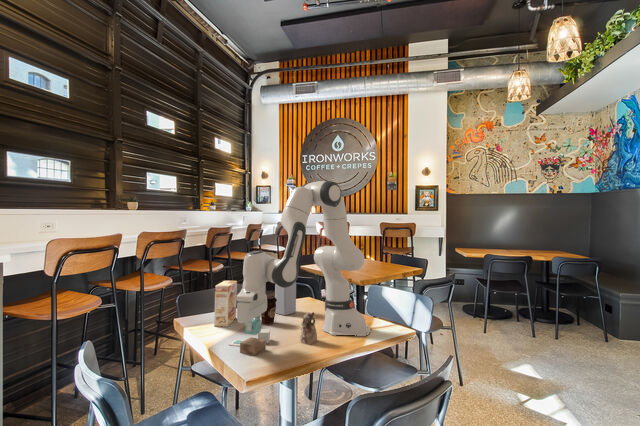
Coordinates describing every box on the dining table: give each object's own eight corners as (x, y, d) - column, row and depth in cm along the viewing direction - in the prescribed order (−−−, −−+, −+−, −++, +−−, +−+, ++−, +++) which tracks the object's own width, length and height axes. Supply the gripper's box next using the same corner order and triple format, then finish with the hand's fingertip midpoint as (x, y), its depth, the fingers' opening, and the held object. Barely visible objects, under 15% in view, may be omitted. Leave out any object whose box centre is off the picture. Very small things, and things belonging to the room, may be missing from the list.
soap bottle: (273, 313, 184) (274, 267, 185) (284, 310, 191) (285, 265, 192) (285, 316, 178) (286, 269, 179) (296, 312, 186) (297, 267, 186)
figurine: (297, 339, 143) (298, 311, 143) (312, 337, 146) (313, 309, 146) (303, 345, 137) (304, 315, 137) (319, 343, 139) (319, 314, 140)
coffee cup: (278, 321, 169) (279, 295, 170) (274, 326, 161) (275, 299, 162) (261, 320, 170) (262, 294, 171) (257, 325, 162) (257, 298, 162)
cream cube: (270, 339, 143) (270, 329, 143) (268, 343, 138) (268, 332, 138) (259, 339, 143) (259, 329, 143) (257, 343, 138) (258, 332, 138)
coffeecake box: (228, 326, 159) (229, 285, 160) (213, 326, 159) (214, 285, 160) (236, 317, 174) (237, 280, 175) (223, 317, 174) (224, 280, 175)
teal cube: (260, 331, 132) (261, 319, 132) (255, 334, 127) (256, 322, 127) (250, 330, 133) (250, 318, 133) (245, 333, 128) (245, 322, 128)
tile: (248, 341, 140) (248, 340, 140) (242, 346, 134) (242, 345, 134) (235, 340, 141) (235, 338, 141) (228, 345, 136) (228, 343, 136)
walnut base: (265, 350, 132) (265, 340, 132) (254, 356, 125) (255, 345, 125) (251, 347, 134) (251, 337, 135) (239, 353, 128) (240, 342, 128)
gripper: (257, 287, 141) (256, 320, 141) (234, 297, 121) (233, 335, 121) (271, 288, 140) (270, 321, 139) (250, 298, 120) (249, 337, 119)
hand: (253, 328), depth 130 cm, fingers closed on teal cube, 4 cm apart
